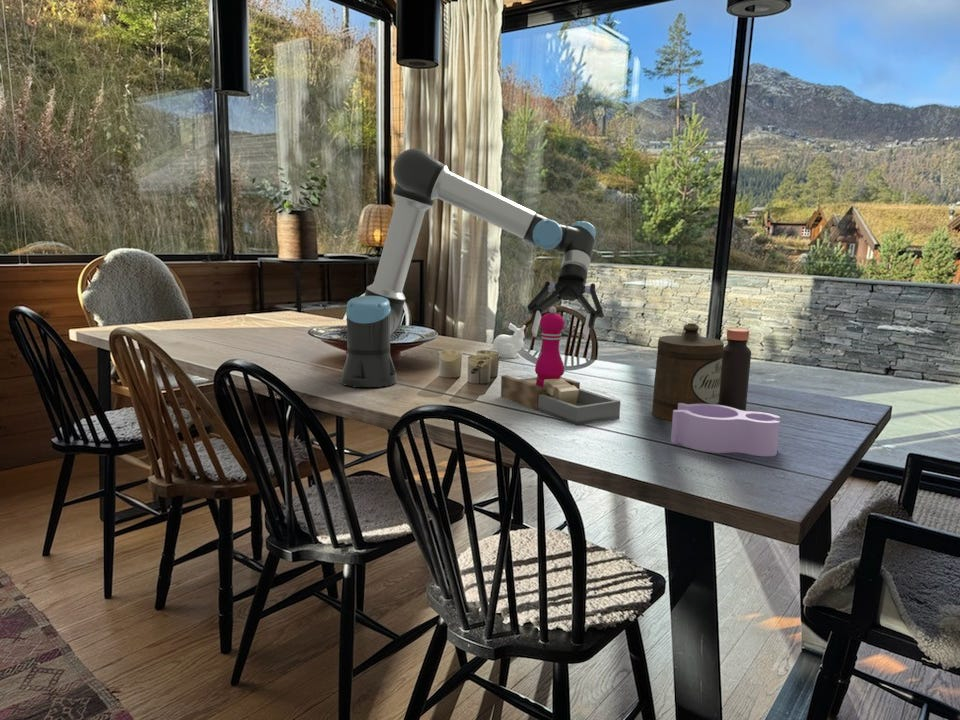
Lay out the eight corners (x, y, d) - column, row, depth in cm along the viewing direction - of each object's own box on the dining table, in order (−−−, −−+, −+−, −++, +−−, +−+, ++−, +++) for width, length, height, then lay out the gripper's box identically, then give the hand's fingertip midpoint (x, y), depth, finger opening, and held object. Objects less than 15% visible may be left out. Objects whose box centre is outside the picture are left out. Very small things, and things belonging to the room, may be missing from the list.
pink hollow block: (777, 444, 140) (780, 412, 138) (775, 462, 129) (779, 427, 127) (677, 431, 148) (680, 400, 147) (668, 446, 137) (670, 413, 135)
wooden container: (710, 427, 150) (719, 329, 146) (644, 417, 157) (650, 324, 153) (722, 413, 163) (730, 322, 159) (661, 404, 170) (667, 317, 166)
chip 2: (555, 386, 159) (561, 391, 157) (573, 385, 161) (579, 389, 159) (551, 405, 161) (557, 410, 159) (569, 403, 163) (575, 408, 161)
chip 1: (542, 389, 165) (544, 379, 164) (560, 388, 167) (562, 378, 166) (552, 396, 160) (553, 386, 160) (570, 395, 162) (572, 385, 161)
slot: (500, 396, 175) (501, 375, 174) (541, 391, 181) (541, 371, 180) (537, 410, 162) (537, 388, 161) (578, 404, 169) (579, 382, 168)
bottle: (747, 410, 166) (755, 329, 162) (742, 416, 160) (750, 332, 156) (719, 406, 169) (726, 327, 165) (713, 412, 163) (720, 330, 160)
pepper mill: (562, 384, 172) (567, 305, 169) (563, 390, 165) (568, 308, 161) (534, 382, 173) (538, 304, 169) (534, 389, 166) (538, 307, 162)
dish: (538, 410, 161) (538, 394, 161) (579, 404, 168) (580, 388, 167) (576, 425, 150) (576, 407, 149) (619, 417, 157) (620, 401, 156)
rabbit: (520, 354, 235) (521, 320, 233) (529, 359, 226) (530, 323, 224) (487, 355, 232) (487, 320, 230) (494, 360, 224) (495, 324, 221)
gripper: (621, 281, 184) (608, 346, 174) (533, 277, 193) (516, 340, 183) (618, 263, 178) (605, 330, 168) (527, 260, 186) (510, 324, 177)
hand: (559, 335), depth 175 cm, fingers open, 13 cm apart
